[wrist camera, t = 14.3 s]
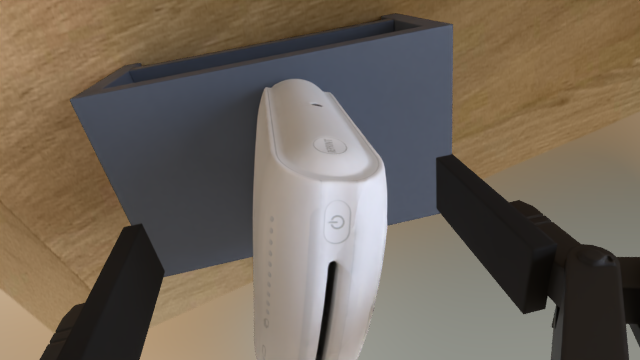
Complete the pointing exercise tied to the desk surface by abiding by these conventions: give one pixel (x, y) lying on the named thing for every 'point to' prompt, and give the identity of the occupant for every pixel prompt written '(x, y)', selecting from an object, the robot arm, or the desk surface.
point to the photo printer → (314, 227)
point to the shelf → (241, 125)
